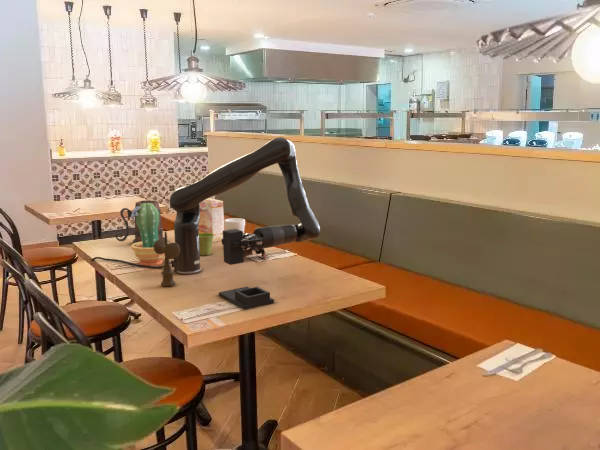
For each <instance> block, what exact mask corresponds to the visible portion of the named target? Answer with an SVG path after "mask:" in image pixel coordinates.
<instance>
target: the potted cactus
mask: <svg viewBox="0 0 600 450" xmlns="http://www.w3.org/2000/svg"><path fill="white" fill-rule="evenodd" d="M131 212H132V214H131V217H130V219H131V220H132V222H134V223H135V216H136V223H137V226H138V228H139V230H140V234H141V238H142V241H141V242H137V243H133V244H132V245H131V244H130V249H131V250H132V251H133V252H134V256H135V257H136V258H137V259H138V260H139V265H147V266H158V265H162V264H164V261H163V259H165V254H164V253H163V254H157V253H156V252H155V251H154V244H155V242H156V241H157V240H158V225H159V212H158V210H157V208H156V207H155V206H154V205H153V204H152V203H151V204H150V203H147V204H146V203H143V204H141V205H140V206H137V207H135V206H134V208H133V210H132V211H131ZM167 242H168V243H170V242H169V241H167Z"/></svg>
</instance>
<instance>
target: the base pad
mask: <svg viewBox="0 0 600 450" xmlns="http://www.w3.org/2000/svg"><path fill="white" fill-rule="evenodd" d="M218 296H219V297H221V298H222V299H224V300H226V301H228V302H229V303H231V304H234V305H235V306H236V307H238V308H240V309H242V310H248V309H255V308H257V307H261V306H262V307H263V306H266V305H267V306H268V305H272V304H274V303H275V299H274V298H272V297H271V292H269V291H267V290H265V289H263V288H262V287H259V286H254V287H249V286H243V287H238V288H233V289H228V290H222V291H219V292H218Z"/></svg>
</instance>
